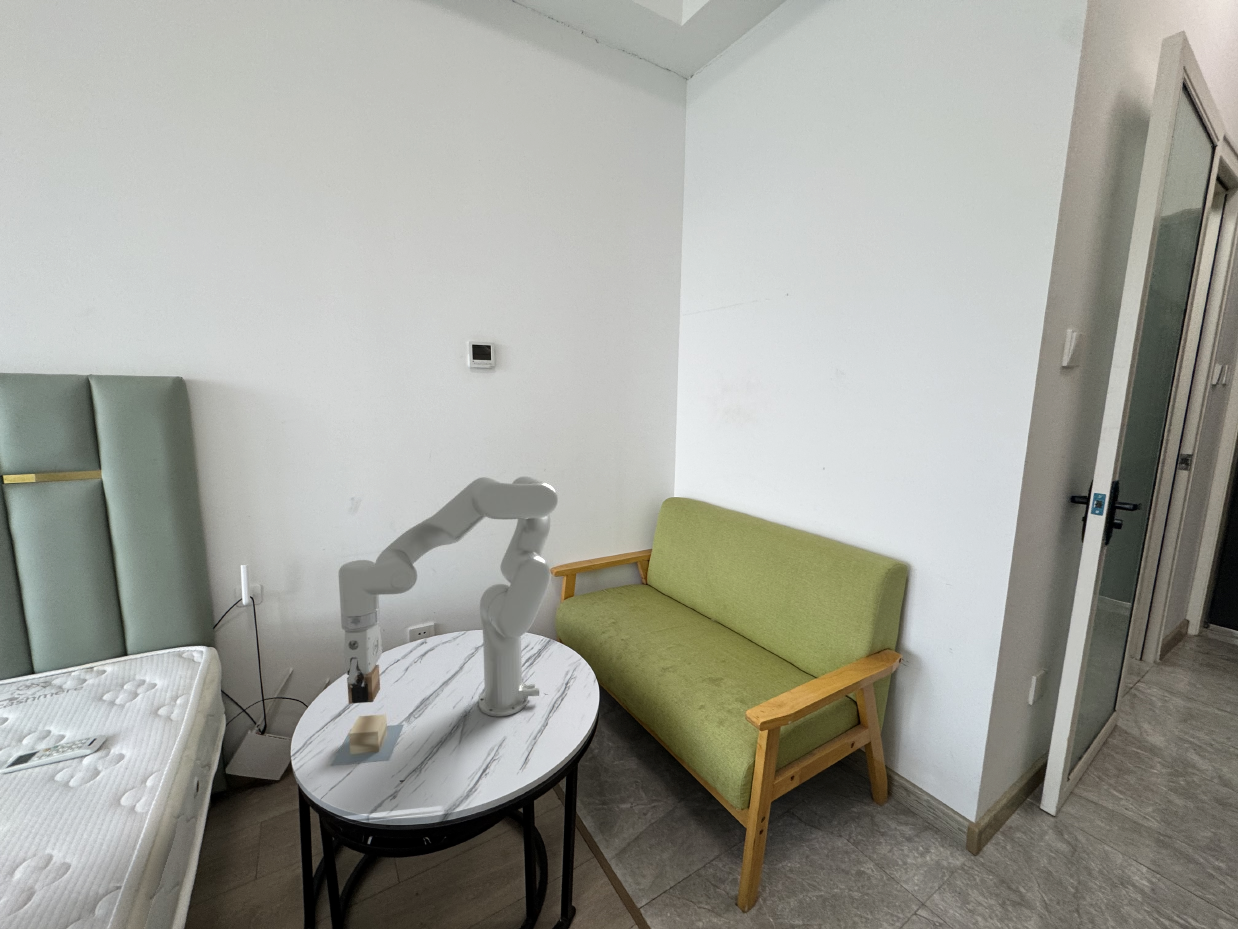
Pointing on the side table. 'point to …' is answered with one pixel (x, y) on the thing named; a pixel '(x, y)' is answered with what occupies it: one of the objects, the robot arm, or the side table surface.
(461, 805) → the side table surface
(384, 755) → the build plate
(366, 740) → the beech block
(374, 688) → the walnut block
